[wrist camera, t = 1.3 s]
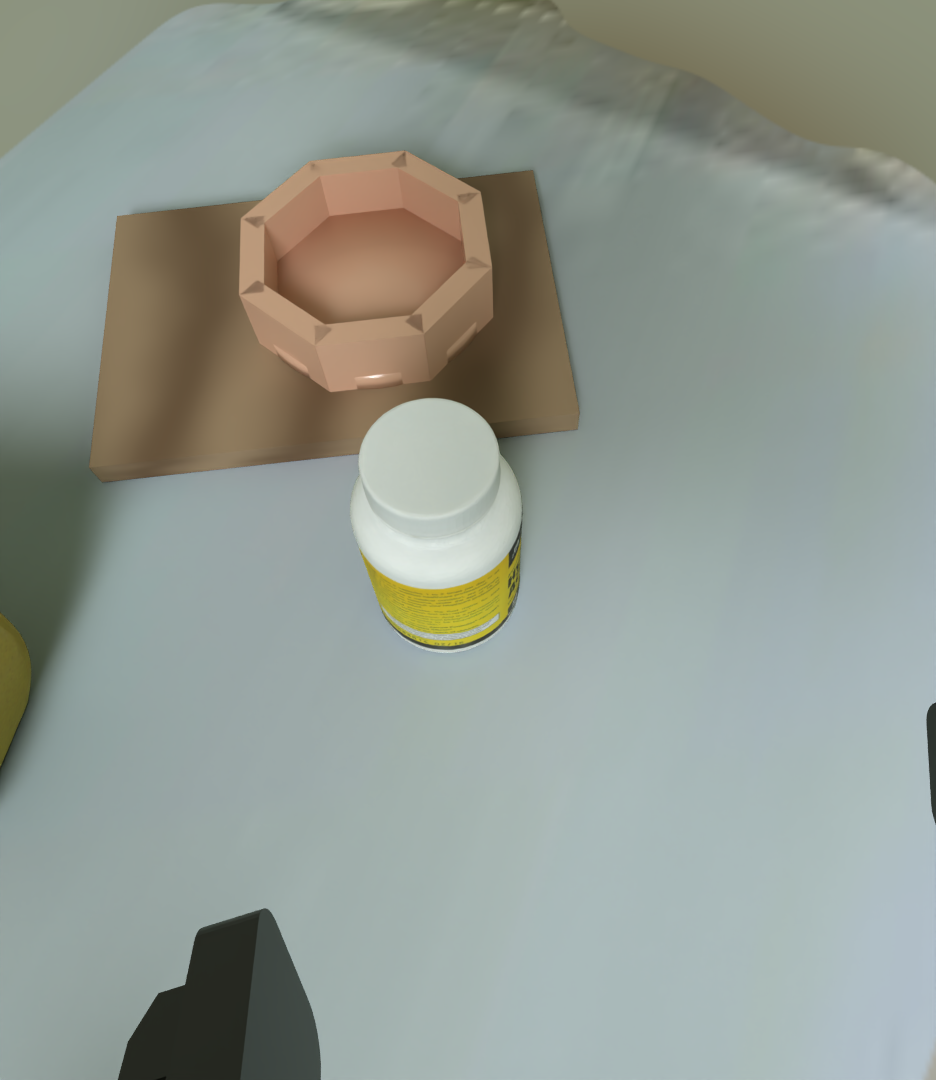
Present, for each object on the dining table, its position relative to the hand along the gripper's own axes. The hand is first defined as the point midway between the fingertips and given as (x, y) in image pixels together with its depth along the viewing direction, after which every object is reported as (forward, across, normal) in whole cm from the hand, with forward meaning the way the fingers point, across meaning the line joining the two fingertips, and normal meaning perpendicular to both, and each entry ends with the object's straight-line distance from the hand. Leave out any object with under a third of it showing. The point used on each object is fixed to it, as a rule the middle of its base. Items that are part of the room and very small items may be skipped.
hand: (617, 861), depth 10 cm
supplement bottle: (+22, 0, +5) cm, 23 cm away
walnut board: (+32, +2, -5) cm, 32 cm away
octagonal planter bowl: (+31, 0, -6) cm, 31 cm away
